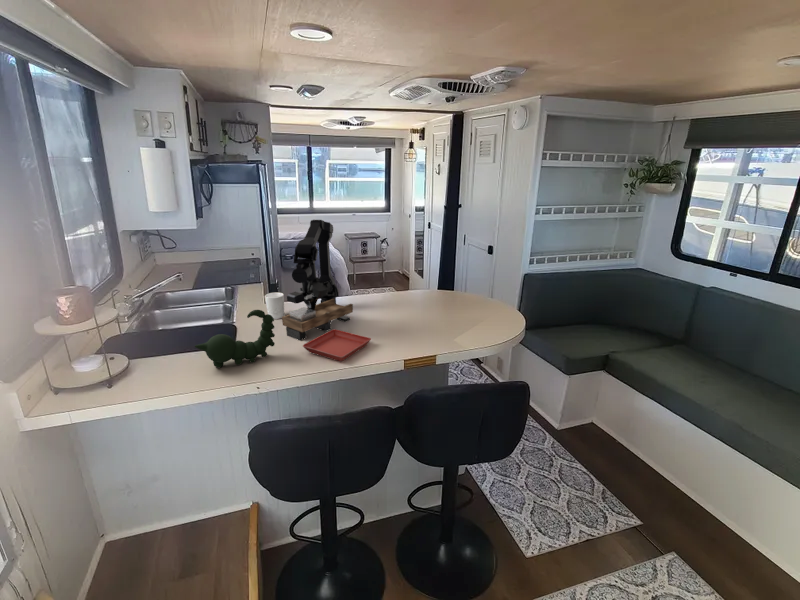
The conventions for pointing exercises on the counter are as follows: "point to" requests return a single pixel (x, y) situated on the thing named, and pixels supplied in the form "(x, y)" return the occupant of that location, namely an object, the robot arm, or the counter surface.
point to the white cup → (275, 304)
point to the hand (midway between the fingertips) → (312, 312)
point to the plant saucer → (337, 344)
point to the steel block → (302, 314)
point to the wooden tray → (319, 316)
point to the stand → (324, 327)
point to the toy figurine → (240, 344)
